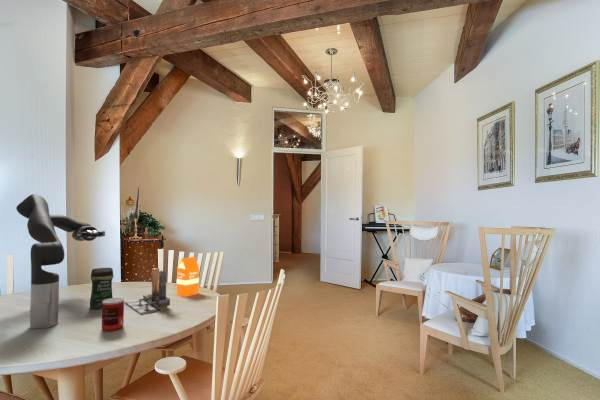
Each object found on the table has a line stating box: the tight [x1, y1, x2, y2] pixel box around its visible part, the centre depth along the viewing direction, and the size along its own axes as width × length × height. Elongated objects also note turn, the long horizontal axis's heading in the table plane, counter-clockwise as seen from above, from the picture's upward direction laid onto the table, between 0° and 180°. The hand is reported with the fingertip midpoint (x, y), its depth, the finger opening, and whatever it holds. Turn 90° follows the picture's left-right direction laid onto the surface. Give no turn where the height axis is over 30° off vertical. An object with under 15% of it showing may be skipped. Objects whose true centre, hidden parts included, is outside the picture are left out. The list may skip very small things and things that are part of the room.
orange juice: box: [176, 256, 200, 297], centre depth 191 cm, size 8×9×20 cm
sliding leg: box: [138, 267, 160, 305], centre depth 168 cm, size 5×10×16 cm, turn 132°
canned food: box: [101, 297, 125, 332], centre depth 136 cm, size 8×8×11 cm
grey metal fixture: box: [124, 270, 171, 315], centre depth 167 cm, size 25×13×18 cm, turn 42°
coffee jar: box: [89, 267, 114, 310], centre depth 165 cm, size 10×8×19 cm
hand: (95, 235), depth 169 cm, fingers closed
